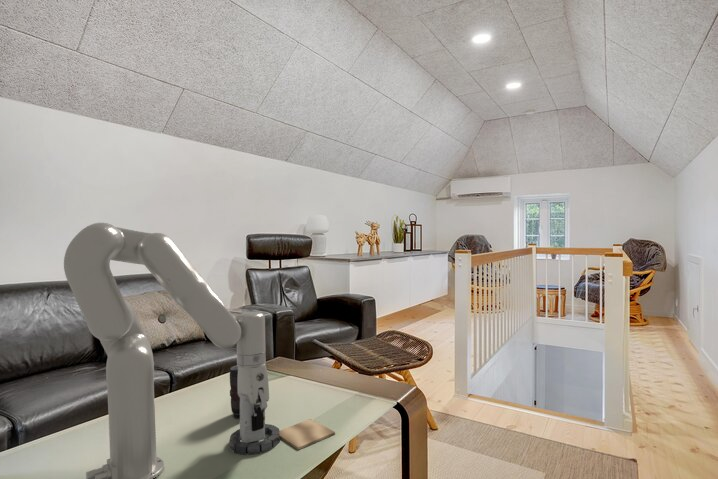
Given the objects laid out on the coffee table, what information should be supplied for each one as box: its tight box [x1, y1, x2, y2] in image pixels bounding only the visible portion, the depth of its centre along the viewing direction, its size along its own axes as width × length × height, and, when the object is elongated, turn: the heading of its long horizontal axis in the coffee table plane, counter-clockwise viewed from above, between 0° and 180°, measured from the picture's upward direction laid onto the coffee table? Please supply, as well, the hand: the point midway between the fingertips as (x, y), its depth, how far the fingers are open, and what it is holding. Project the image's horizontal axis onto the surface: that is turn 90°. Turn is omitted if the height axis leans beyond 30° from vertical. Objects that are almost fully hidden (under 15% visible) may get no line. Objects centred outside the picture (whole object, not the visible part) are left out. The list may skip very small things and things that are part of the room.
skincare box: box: [239, 393, 266, 443], centre depth 110 cm, size 6×4×12 cm
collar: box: [228, 423, 281, 456], centre depth 110 cm, size 13×13×2 cm
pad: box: [279, 418, 336, 451], centre depth 114 cm, size 12×12×1 cm
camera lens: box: [229, 364, 240, 420], centre depth 128 cm, size 8×8×15 cm
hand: (252, 425), depth 110 cm, fingers closed on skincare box, 5 cm apart
